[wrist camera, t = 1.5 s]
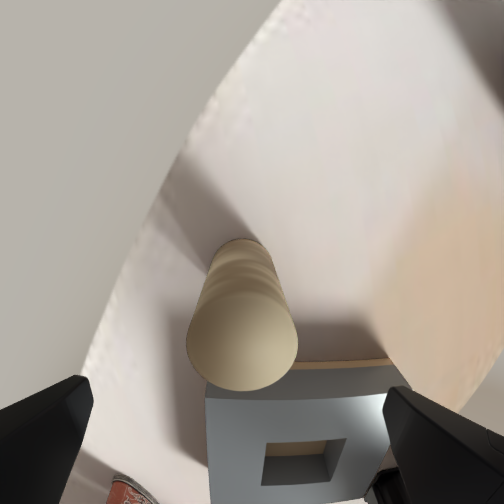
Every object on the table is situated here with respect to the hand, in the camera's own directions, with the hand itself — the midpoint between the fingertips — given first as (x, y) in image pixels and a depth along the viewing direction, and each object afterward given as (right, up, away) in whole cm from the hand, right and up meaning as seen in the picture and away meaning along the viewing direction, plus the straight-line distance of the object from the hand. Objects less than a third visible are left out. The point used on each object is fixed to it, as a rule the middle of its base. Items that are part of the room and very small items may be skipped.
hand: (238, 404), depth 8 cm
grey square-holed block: (+4, -11, +16) cm, 20 cm away
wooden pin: (0, +3, +13) cm, 13 cm away
